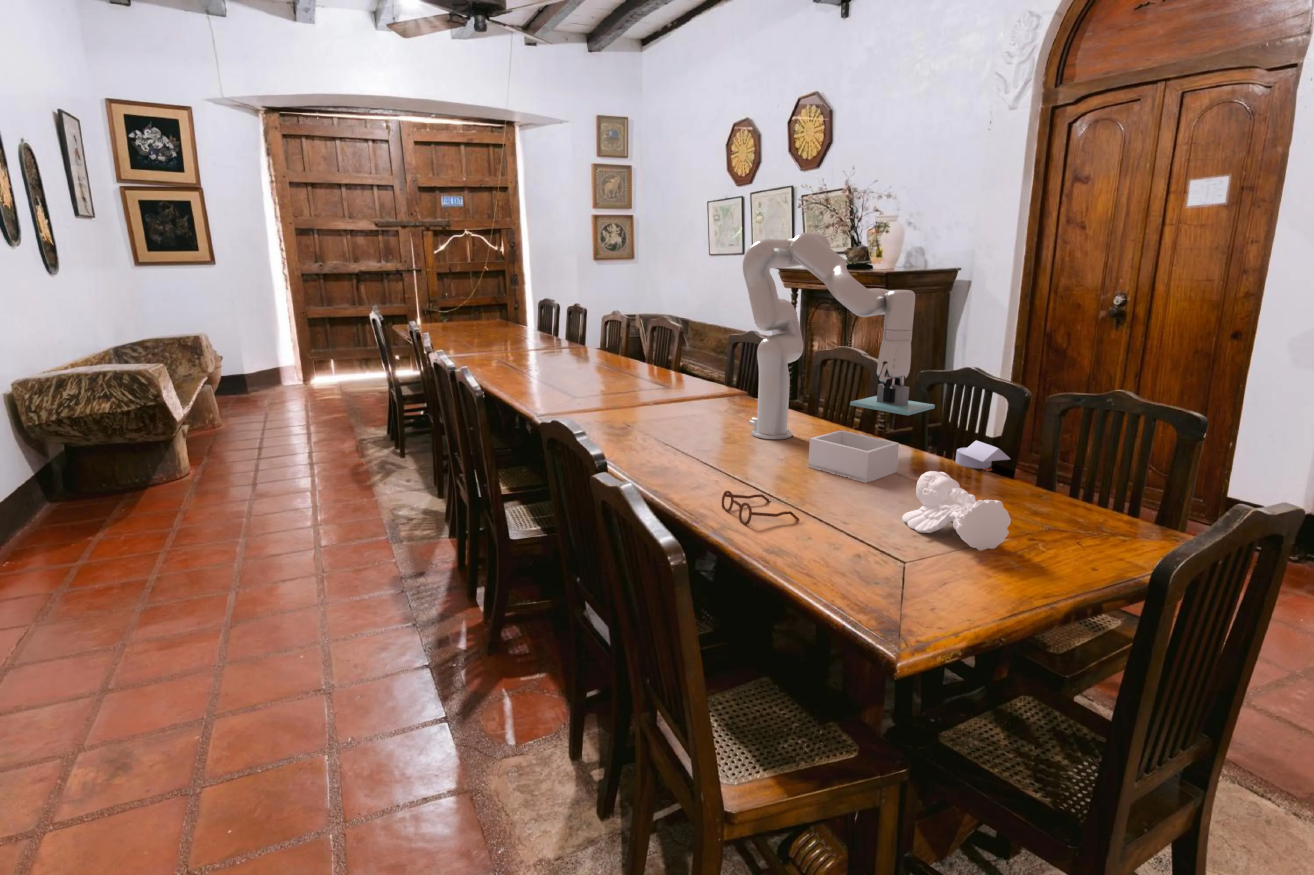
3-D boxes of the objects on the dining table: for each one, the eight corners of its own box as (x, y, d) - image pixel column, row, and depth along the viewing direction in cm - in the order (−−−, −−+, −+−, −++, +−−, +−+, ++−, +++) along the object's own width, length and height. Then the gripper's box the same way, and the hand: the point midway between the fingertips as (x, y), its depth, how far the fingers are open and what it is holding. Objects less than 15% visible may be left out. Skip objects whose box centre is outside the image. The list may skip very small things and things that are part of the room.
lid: (850, 405, 202) (851, 384, 200) (877, 398, 211) (879, 378, 209) (907, 415, 188) (909, 393, 187) (934, 408, 197) (936, 387, 196)
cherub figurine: (955, 505, 132) (899, 464, 151) (945, 563, 137) (892, 516, 155) (1017, 499, 135) (954, 459, 153) (1005, 556, 140) (946, 510, 158)
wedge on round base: (1009, 471, 189) (975, 458, 201) (1012, 447, 187) (978, 435, 199) (981, 474, 186) (948, 460, 198) (984, 449, 185) (951, 437, 197)
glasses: (719, 509, 161) (720, 488, 160) (770, 502, 165) (771, 482, 164) (747, 529, 149) (748, 507, 148) (800, 521, 154) (802, 500, 152)
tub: (808, 466, 191) (809, 438, 189) (839, 457, 200) (841, 430, 198) (865, 483, 178) (868, 452, 176) (896, 472, 187) (899, 443, 185)
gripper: (901, 332, 203) (895, 395, 207) (868, 336, 192) (863, 403, 197) (925, 334, 197) (919, 399, 202) (893, 339, 187) (887, 407, 191)
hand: (892, 400), depth 199 cm, fingers closed on lid, 3 cm apart
